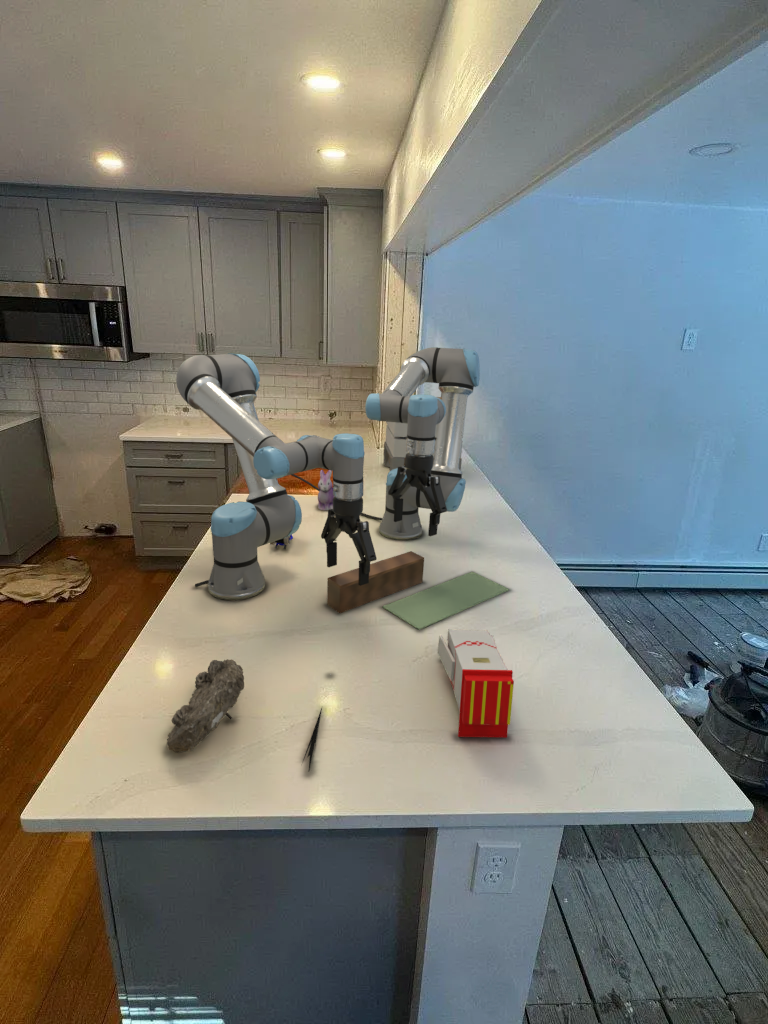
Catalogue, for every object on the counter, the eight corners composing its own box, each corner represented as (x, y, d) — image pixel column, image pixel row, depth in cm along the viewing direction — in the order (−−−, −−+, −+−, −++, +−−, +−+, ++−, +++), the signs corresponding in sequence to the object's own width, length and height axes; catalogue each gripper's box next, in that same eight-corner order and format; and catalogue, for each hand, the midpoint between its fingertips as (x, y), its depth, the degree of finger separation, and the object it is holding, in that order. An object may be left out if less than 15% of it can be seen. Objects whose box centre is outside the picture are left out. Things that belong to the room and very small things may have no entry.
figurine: (321, 512, 217) (321, 474, 212) (311, 504, 225) (311, 467, 220) (344, 509, 221) (344, 472, 216) (333, 501, 229) (334, 465, 224)
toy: (488, 613, 130) (523, 677, 101) (484, 667, 133) (517, 744, 104) (435, 612, 130) (455, 676, 101) (432, 666, 133) (451, 743, 103)
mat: (382, 607, 150) (382, 606, 150) (472, 572, 173) (472, 571, 173) (419, 630, 140) (419, 628, 140) (509, 590, 163) (509, 588, 163)
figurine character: (290, 555, 182) (296, 533, 195) (289, 535, 178) (295, 513, 192) (269, 555, 181) (276, 532, 195) (268, 534, 178) (275, 513, 191)
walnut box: (339, 613, 146) (340, 585, 144) (327, 604, 150) (327, 577, 148) (422, 582, 165) (424, 557, 162) (409, 575, 169) (411, 550, 166)
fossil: (192, 660, 117) (244, 628, 112) (224, 691, 120) (276, 661, 115) (142, 746, 98) (202, 712, 93) (182, 779, 101) (242, 748, 96)
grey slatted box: (382, 463, 289) (386, 382, 275) (445, 464, 293) (451, 384, 279) (390, 482, 257) (394, 392, 243) (460, 483, 261) (468, 394, 247)
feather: (331, 679, 122) (336, 673, 122) (307, 777, 96) (313, 769, 95) (324, 675, 122) (329, 669, 121) (298, 772, 95) (304, 764, 95)
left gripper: (307, 487, 147) (308, 562, 154) (367, 513, 129) (366, 596, 136) (330, 482, 152) (331, 555, 159) (392, 507, 134) (389, 587, 141)
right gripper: (378, 446, 158) (375, 517, 165) (445, 466, 141) (438, 544, 148) (397, 443, 163) (393, 512, 170) (464, 461, 146) (457, 538, 153)
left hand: (347, 574), depth 148 cm, fingers open, 13 cm apart
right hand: (414, 527), depth 159 cm, fingers open, 13 cm apart
